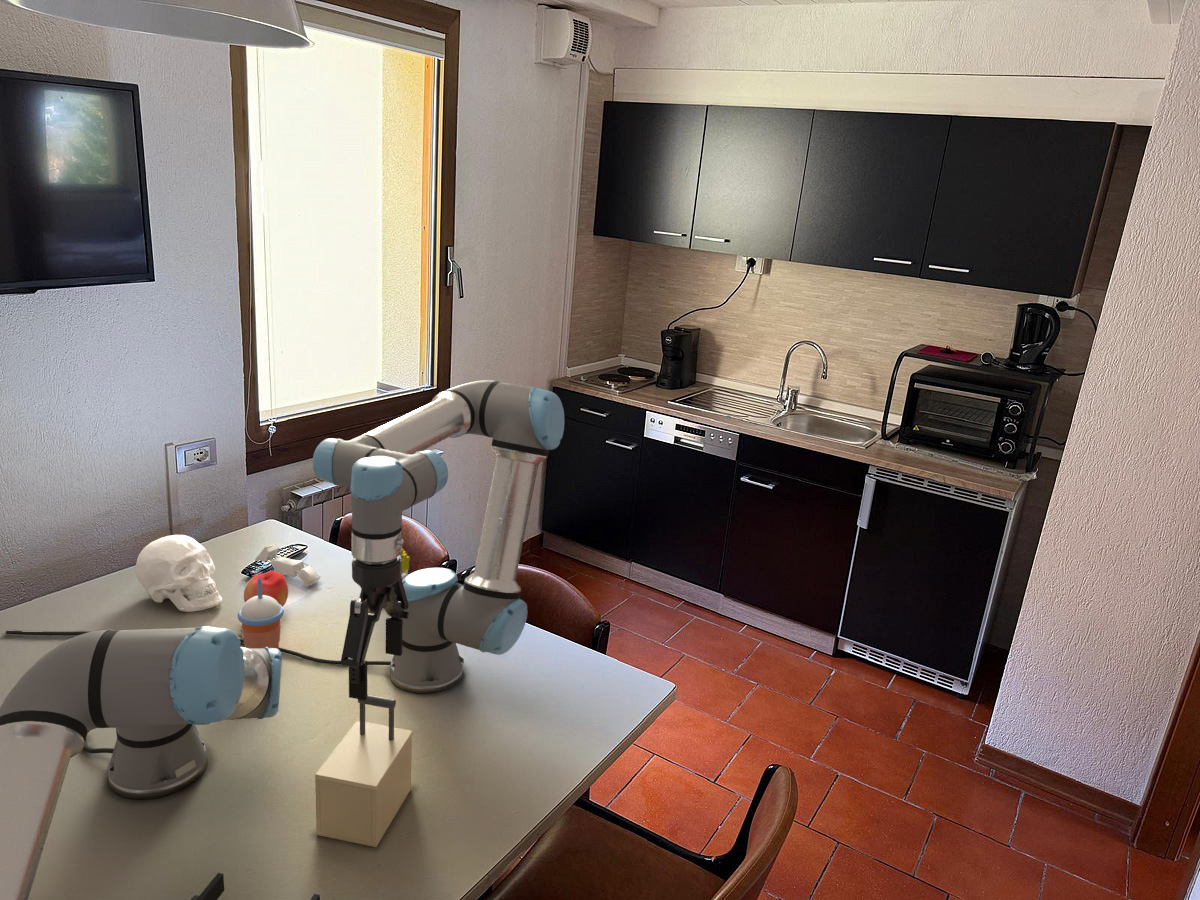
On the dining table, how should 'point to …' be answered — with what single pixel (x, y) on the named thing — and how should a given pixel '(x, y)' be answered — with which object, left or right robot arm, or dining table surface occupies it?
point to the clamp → (288, 565)
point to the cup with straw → (261, 620)
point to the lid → (366, 750)
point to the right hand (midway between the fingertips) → (376, 674)
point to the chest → (363, 804)
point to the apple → (268, 587)
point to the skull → (178, 572)
